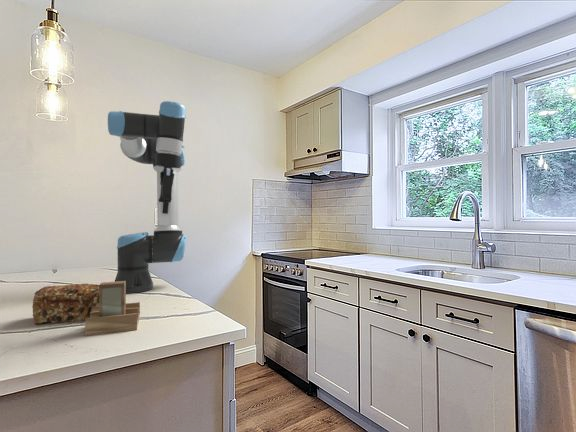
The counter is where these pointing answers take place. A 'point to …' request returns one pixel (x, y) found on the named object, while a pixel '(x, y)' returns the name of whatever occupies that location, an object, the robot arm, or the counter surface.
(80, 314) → the bread
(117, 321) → the divided tray
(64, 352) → the counter surface
